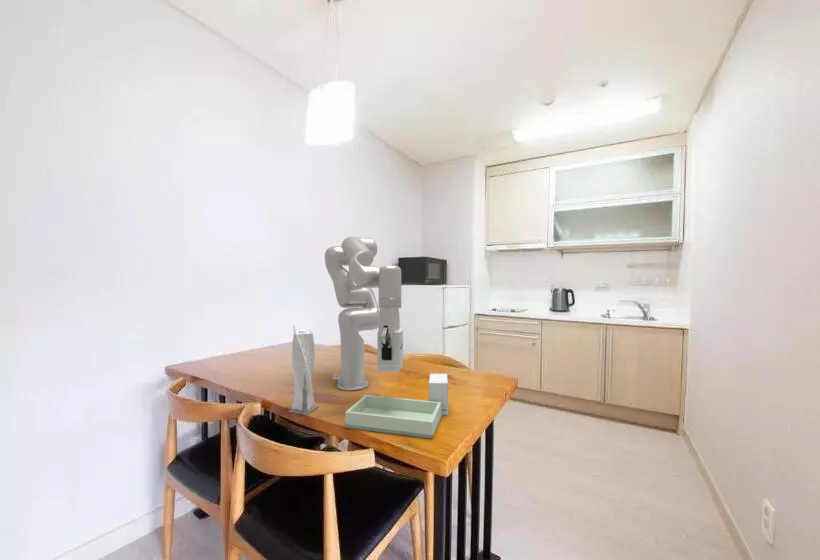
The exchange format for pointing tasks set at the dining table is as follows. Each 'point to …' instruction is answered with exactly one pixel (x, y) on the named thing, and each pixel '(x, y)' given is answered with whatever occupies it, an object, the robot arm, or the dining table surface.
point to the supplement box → (397, 353)
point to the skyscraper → (303, 371)
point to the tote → (395, 416)
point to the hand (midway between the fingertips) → (390, 356)
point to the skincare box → (439, 390)
